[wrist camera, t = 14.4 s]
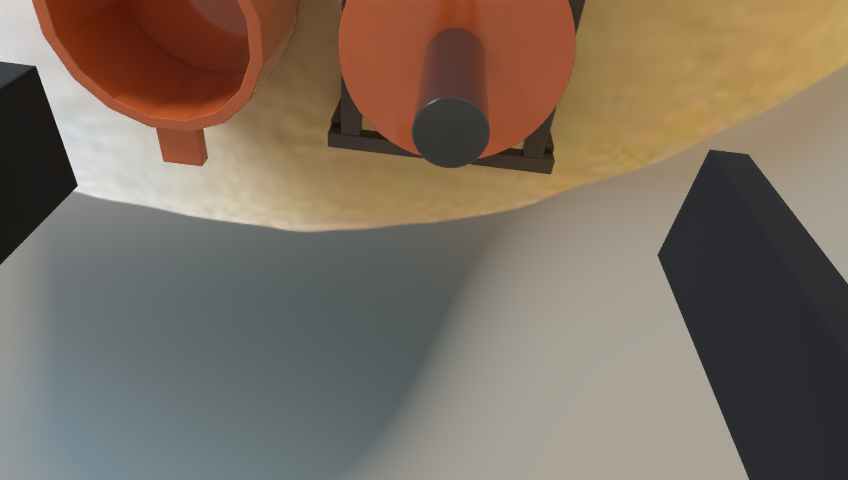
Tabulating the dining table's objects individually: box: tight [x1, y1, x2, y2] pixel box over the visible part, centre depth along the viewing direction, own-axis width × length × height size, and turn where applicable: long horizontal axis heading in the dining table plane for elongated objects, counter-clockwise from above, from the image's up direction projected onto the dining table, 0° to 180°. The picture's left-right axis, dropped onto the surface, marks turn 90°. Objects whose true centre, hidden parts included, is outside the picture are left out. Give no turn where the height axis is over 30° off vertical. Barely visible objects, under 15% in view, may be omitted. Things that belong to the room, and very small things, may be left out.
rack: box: [328, 0, 585, 174], centre depth 32 cm, size 14×14×5 cm
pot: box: [32, 0, 298, 166], centre depth 31 cm, size 11×17×8 cm
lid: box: [338, 0, 576, 168], centre depth 26 cm, size 12×12×10 cm
